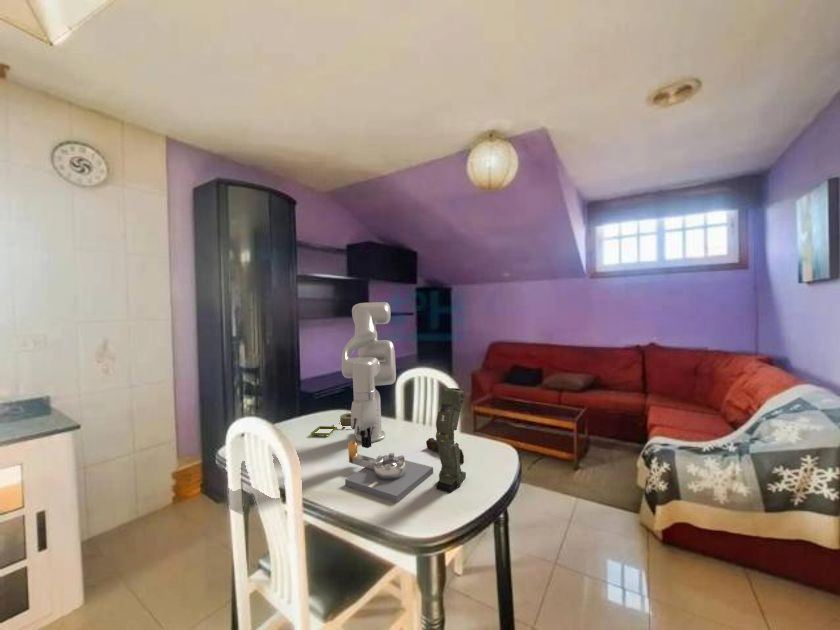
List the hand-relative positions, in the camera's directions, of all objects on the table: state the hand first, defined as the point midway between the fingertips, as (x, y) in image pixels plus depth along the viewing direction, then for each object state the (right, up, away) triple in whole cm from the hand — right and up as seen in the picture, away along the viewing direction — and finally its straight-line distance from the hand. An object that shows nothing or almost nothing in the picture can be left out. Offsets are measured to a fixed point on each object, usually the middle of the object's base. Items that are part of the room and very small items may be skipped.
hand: (366, 446), depth 125 cm
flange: (-15, -6, +42) cm, 45 cm away
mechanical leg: (+29, -5, -16) cm, 34 cm away
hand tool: (+29, -5, +4) cm, 30 cm away
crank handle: (+4, -4, -9) cm, 11 cm away
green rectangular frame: (-24, -7, +31) cm, 40 cm away
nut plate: (+10, -6, -13) cm, 17 cm away
